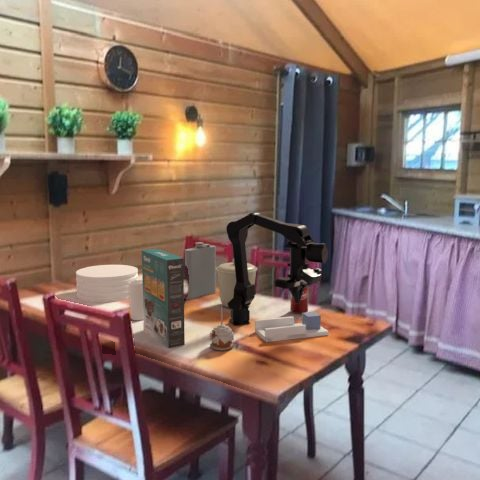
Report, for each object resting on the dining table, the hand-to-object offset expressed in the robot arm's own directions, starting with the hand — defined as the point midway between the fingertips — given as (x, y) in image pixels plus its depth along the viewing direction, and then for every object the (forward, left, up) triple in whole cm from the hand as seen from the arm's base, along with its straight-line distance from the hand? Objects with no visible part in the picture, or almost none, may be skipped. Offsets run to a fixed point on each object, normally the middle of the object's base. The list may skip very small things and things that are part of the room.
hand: (297, 303), depth 186 cm
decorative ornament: (-30, -6, -12) cm, 33 cm away
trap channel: (-2, 0, -11) cm, 11 cm away
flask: (-21, +62, -12) cm, 67 cm away
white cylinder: (-53, +34, -12) cm, 64 cm away
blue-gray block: (+6, 0, -10) cm, 11 cm away
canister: (-10, +41, -12) cm, 44 cm away
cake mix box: (-47, +10, -12) cm, 50 cm away
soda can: (+12, +24, -12) cm, 29 cm away
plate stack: (-62, +77, -12) cm, 100 cm away
